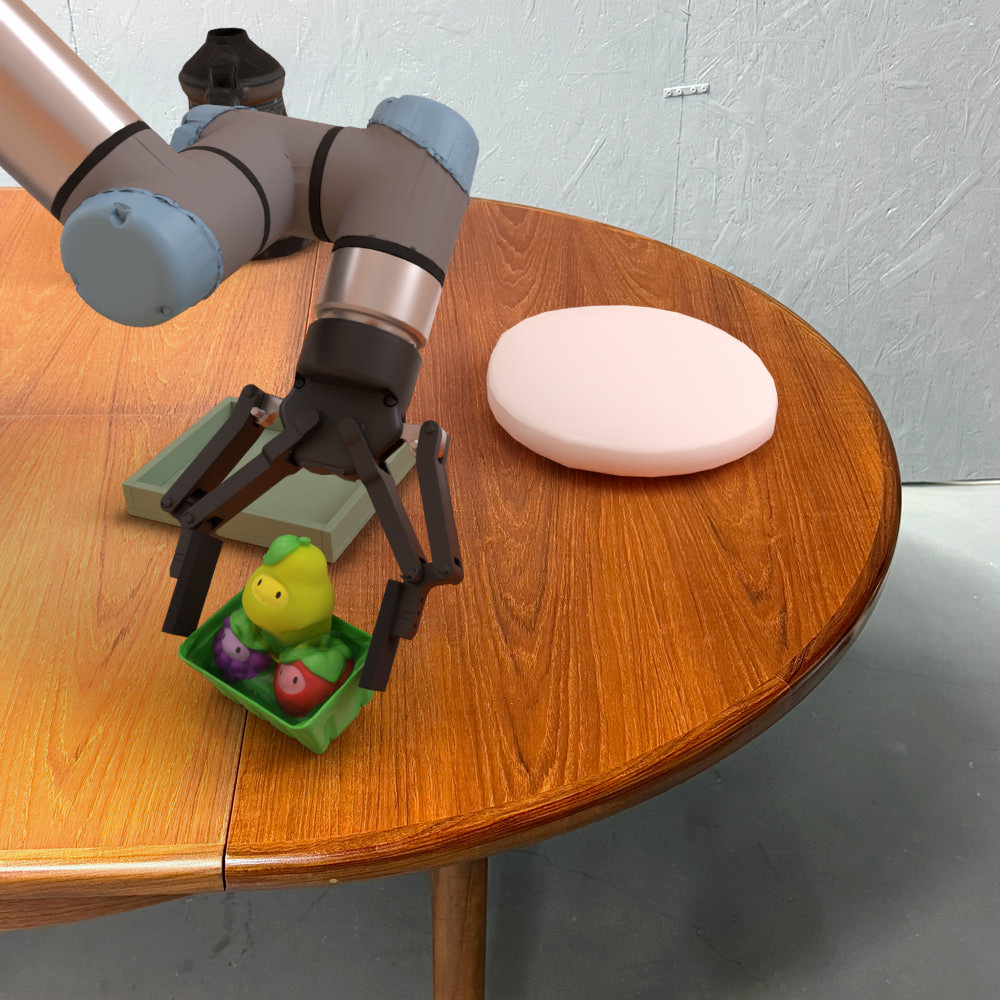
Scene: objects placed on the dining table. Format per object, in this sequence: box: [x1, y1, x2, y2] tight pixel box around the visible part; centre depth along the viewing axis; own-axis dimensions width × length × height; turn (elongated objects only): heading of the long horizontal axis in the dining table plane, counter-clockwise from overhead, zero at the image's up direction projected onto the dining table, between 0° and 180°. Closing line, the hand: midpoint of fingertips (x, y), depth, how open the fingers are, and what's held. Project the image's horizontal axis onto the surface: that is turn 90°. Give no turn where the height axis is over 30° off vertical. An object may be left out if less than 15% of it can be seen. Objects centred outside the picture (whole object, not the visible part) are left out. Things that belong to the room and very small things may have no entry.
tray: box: [121, 395, 416, 565], centre depth 90 cm, size 19×16×3 cm
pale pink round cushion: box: [485, 304, 779, 478], centre depth 100 cm, size 28×6×27 cm
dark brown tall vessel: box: [177, 27, 315, 261], centre depth 130 cm, size 16×19×25 cm
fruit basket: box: [177, 535, 374, 755], centre depth 66 cm, size 11×9×11 cm
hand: (271, 662), depth 65 cm, fingers closed on fruit basket, 13 cm apart
